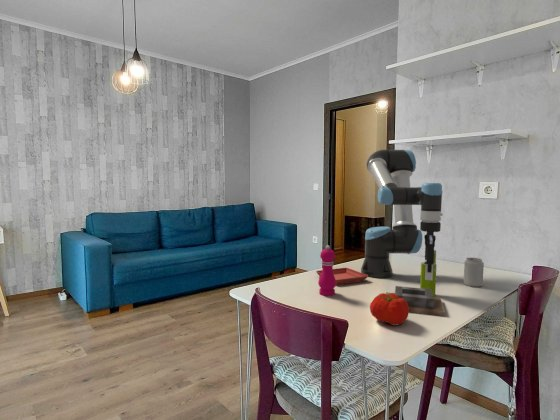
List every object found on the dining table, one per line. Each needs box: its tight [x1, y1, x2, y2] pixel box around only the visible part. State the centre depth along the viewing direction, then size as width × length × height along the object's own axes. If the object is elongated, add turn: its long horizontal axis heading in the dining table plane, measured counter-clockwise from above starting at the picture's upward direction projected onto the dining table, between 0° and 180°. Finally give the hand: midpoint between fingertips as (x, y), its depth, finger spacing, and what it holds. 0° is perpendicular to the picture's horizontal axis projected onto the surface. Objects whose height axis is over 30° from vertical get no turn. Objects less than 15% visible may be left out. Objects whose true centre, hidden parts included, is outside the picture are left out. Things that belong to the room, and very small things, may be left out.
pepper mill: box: [317, 244, 337, 297], centre depth 146 cm, size 7×7×20 cm
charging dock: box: [385, 285, 446, 317], centre depth 133 cm, size 20×16×5 cm
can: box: [463, 257, 485, 288], centre depth 160 cm, size 8×8×12 cm
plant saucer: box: [315, 267, 368, 286], centre depth 169 cm, size 18×18×3 cm
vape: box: [419, 249, 437, 297], centre depth 146 cm, size 4×6×20 cm, turn 43°
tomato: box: [369, 292, 410, 326], centre depth 118 cm, size 13×12×8 cm
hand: (428, 278), depth 146 cm, fingers closed on vape, 5 cm apart
